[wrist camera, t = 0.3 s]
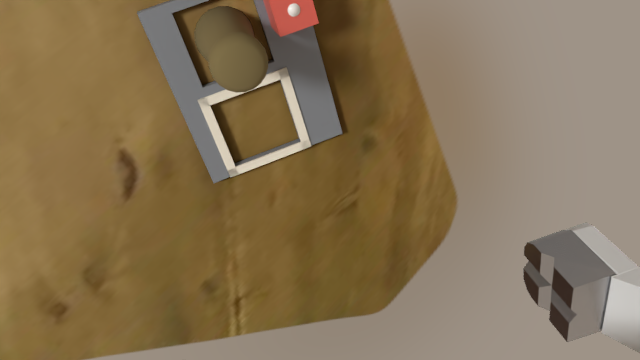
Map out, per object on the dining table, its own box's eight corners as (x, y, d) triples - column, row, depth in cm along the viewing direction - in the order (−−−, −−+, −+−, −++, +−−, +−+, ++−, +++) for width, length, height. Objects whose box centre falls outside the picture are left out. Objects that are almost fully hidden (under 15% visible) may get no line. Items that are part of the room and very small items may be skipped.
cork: (257, 10, 55) (281, 37, 45) (249, 68, 57) (271, 105, 48) (197, 1, 52) (209, 28, 43) (191, 62, 55) (202, 99, 46)
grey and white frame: (137, 11, 51) (137, 13, 51) (292, -42, 53) (295, -41, 52) (212, 179, 62) (213, 184, 61) (340, 130, 64) (343, 134, 63)
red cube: (259, -12, 53) (267, -4, 49) (297, -25, 53) (308, -19, 50) (271, 27, 55) (280, 37, 51) (307, 14, 55) (319, 23, 52)
